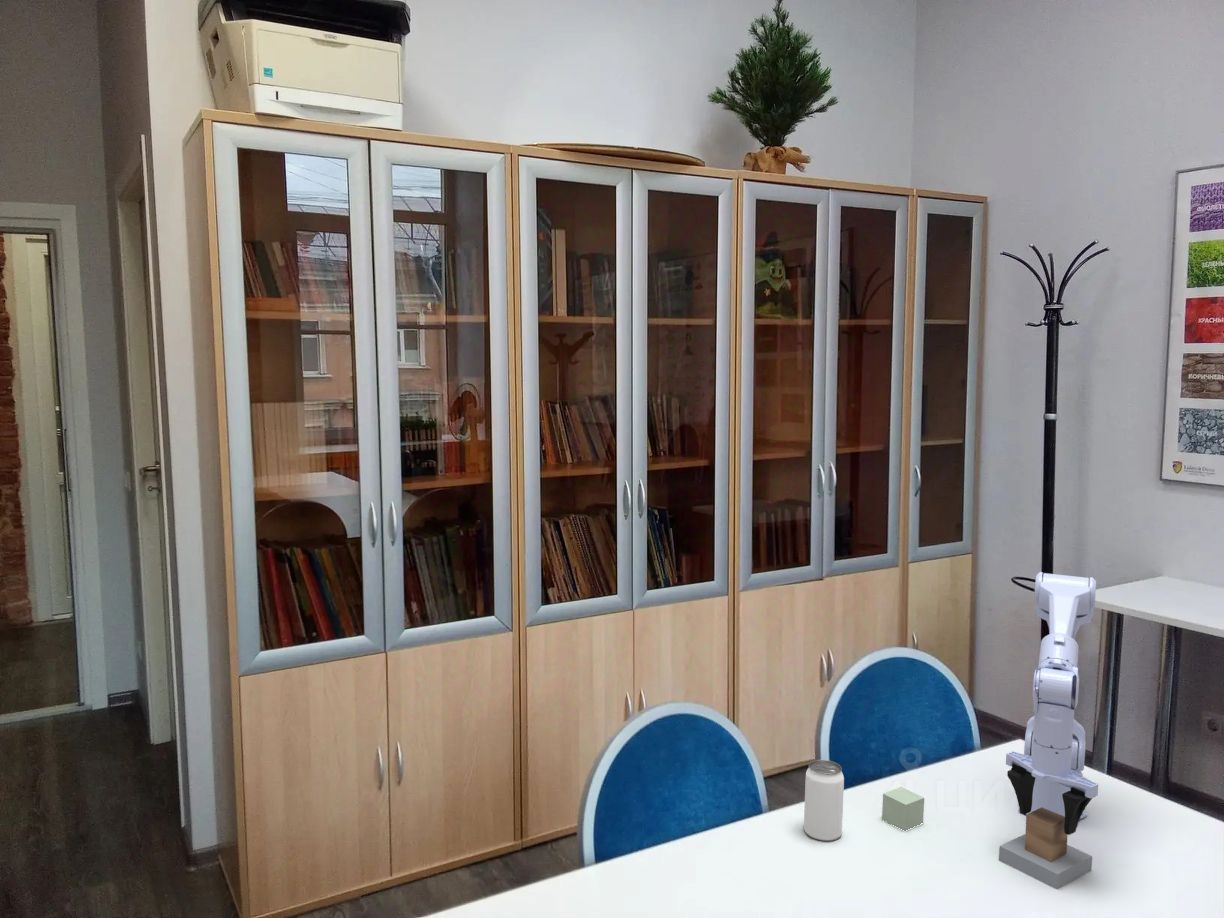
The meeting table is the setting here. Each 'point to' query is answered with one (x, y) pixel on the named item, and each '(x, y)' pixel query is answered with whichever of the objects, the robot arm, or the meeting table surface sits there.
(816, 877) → the meeting table surface
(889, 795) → the green cube
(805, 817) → the can
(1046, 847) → the walnut block
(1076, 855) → the grey block
